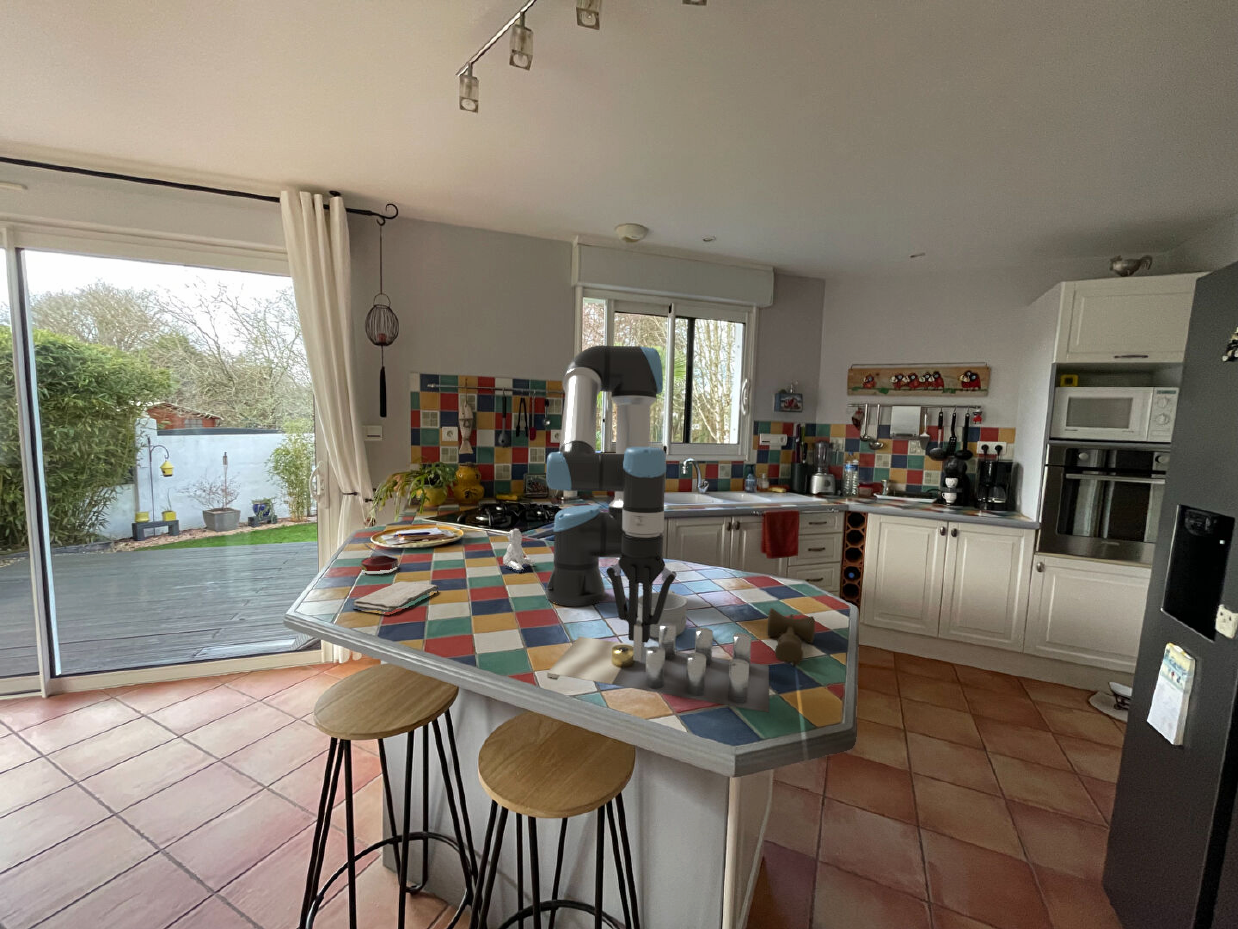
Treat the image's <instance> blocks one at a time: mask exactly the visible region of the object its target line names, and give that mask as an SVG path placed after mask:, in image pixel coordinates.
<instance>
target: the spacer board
mask: <svg viewBox="0 0 1238 929" xmlns="http://www.w3.org/2000/svg"><path fill="white" fill-rule="evenodd" d="M616 645H629V646H632V647H633V644H631V643H630V644H629V643H624V642H617V641H610V640H603V639H597V638H593V637H592V638H591V637H586V636H578V637H577V639H576V640H574V641H573V643H572V644H571V645H570V646H569V647H568V649H567V650H566V651H565V652H564V653H563V654H562V655H561V657H560V658H559V659H558V660H557V661H556V662H555V663H554V664H553V665H552V667H551V668H550V669H549V670H548V671H547V673H546V676H547V678H550V677H552V678H551V679H556V678H557V680H558V679H559V678H560V677H561V676H563V677H568V678H573V679H579V680H584V681H585V680H586V681H591V682H597V683H601V684H608V685H613V686H618V687H624V688H629V689H630V688H631V689H636V690H642V691H647V692H653V693H658V694H663V695H667V696H668V695H669V696H673V697H674V696H676V697H680V698H686V699H691V700H697V701H702V702H707V703H714V704H719V705H725V706H731V707H736V708H741V709H746V710H754V711H759V712H766V713H770V680H769V679H770V678H769V677H770V676H769V675H770V670H769V667H770V666H769V665H767V664H759V663H755V662H754V663H753V662H750V670H749V679H748V698H747V702H746V703H743V704H737V703H733V702H731V701H730V700H729V699H728V678H729V661H730V660H731V659H727V658H722V657H716V656H715V657H714V656H712V662H711V664H710V665H707V666H706V672H705V693H704V694H703V695H701V696H692V695H690V694H688V693H687V692H686V666H687V655H688V654H689V653H690V652H689V653H688V652H681V651H676V650H675V658H674V659H671V660H665V665H664V686H663V687H662V688H659V689H652V688H649V687H647V686H646V684H645V676H646V649H647V648H648V647H649V646H644V656H643V658H642V660H641V661H636V660H635V664H634V665H633V666H632V667H628V668H619V667H616V666H614V665H613V664H612V662H611V661H612V648H613V647H614V646H616Z"/></svg>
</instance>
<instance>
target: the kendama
mask: <svg viewBox="0 0 1238 929" xmlns="http://www.w3.org/2000/svg"><path fill="white" fill-rule="evenodd" d="M815 631H816V621H815V617H814V616H807V617H803V618H794V615H793V614H790V615H789V617H786V616H785V615H782V614H781V613H780V612H778V611H777V610H775V608H770V610H769V612H768V616H767V628H766V634H767V637H768V638H772V637H775V636H778V635H780V634H781V635H780V636H779V637H778V640H777V644H776V646H775V657H776V659H777V660H779V661H782V662H787V663H792V664H793V667H795V666H799V665H800V664H801V663H802V661H803V659H804V650H803V645H802V644H803V643H802V641H801V640H803V641H804V642H806V643H808V644H811V643H813V642H814V638H815V633H816V632H815Z"/></svg>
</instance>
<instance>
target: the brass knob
mask: <svg viewBox="0 0 1238 929" xmlns="http://www.w3.org/2000/svg"><path fill="white" fill-rule="evenodd" d="M611 662H612V664H613V665H614V666H616V667H619V668H628V667H632V666H633V665H634V664H635V660H633V647H632V646H629V645H616V646H614V647H613V648H612V661H611Z"/></svg>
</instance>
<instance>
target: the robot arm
mask: <svg viewBox="0 0 1238 929" xmlns="http://www.w3.org/2000/svg"><path fill="white" fill-rule="evenodd" d="M663 372H664V371H663V364H662V358H661V356H660V352H659V351H658V350H657V348H654V347H648V346H641V345H639V346H637V345H635V346H634V345H605V344H604V345H602V344H601V345H600V344H599V345H594V346H590V347H588V348H586V349H584V350H583V351H581V352H579V353H578V354H576V355H575V357H573V358H572V359H571V361H570V362H569V363H568V364H567V366H566V368H565V370H564V372H563V375H562V389H563V391H564V393H565V394H564V403H563V414H562V422H561V431H560V432H561V434H560V442H559V449H558V451H556V452H555V451H554V452H550V453H549V454H548V456H547V459H546V470H545V471H546V484H547V487H548V489H550V490H554V491H565V492H571V491H572V492H612V493H613V492H614V499H613V500H612V501H611V502H610V503H609V504H608V511H606V512H605V511H602V509H601V507H600V506H598V505H595V504H592V505H588V504H587V505H578V506H577V505H575V506H571V507H567V508H563V509H561V510H558V512H557V513H555V516H554V524H553V525H554V526H553V533H554V536H553V537H554V538H553V567H552V571H551V573H550V577H549V580H548V582H547V586H546V588H545V590H546V591H545V592H546V594H545V597H546V596H547V598H548V599H549V600H550V601H552V602H555V603H557V604H556V605H558V604H561V605H560V606H563V605H566V606H565V607H586V606H585V605H588V606H591V604H593V605H595V604H594V603H596V604H598V603H600V602H602V601H603V600H605V598H604V597H605V595H606V591H605V590H606V588H605V587H606V586H605V584H604V580H603V578H602V574H601V570H600V568H599V567H600V566H599V565H600V559H602V558H604V559H605V558H606V559H611V558H612V559H614V558H615V559H618V562H617V563H615V564H611V565H610V566H609V567H608V568H606V572H605V573H606V574H607V576H608V578H609V580H610V581H611V585H612V590H613V591H612V592H613V595H614V598H615V604H616V609H617V614H618V618H619V620H620V621H625V622H627V624H628V636H627V637H628V641H632V642H633V643H632V645H633V660H636V661H641V660H642V658H643V656H644V647H645V643H648V642H649V640H650V638H651V637H650V626H651V625H652V624H655V625H656V624H658V622H659V620H660V618H661V615H662V612H663V608H664V605H665V601H666V598H667V594H668V591H669V590H670V587H671V585H672V583H673V582H674V581H675V579H676V578H677V575H678V574H677V572H676V571H673V570H672V571H671V570H670V569H668V568H667V567H666V562H665V561H664V557H663V552H664V550H663V548H664V536H663V534H662V532H664V527H665V524H664V523H665V492H666V491H665V489H666V488H665V487H666V472H667V464H666V463H667V461H666V460H667V459H666V458H667V457H666V454H667V453H666V451H665V450H664V449H663V448H660V447H653V446H652V447H651V446H650V437H651V435H650V434H651V433H650V432H651V408H652V405H653V404H654V403H655V402H656V401H657V395H659V394H661V393H663V388H664V382H663V381H664V380H663V379H664V377H663ZM600 392H604V393H611V395H610V396H611V397H610V398H611V401H612V402H613V403H614V404H615V405H616V434H615V435H616V437H615V438H616V439H615V453H603V452H601V453H598V452H596V450H597V449H596V448H597V444H596V443H597V414H598V410H597V409H598V396H599V394H600ZM622 573H623V574H624V576H625V578H626V579H627V580H628V604H627V599H626V593H625V588H624V583H623V578H622V576H621V574H622ZM661 574H662V575H661ZM660 575H661V576H662V577H661V580H662V582H663V583H662V585H661V587H660V591H659V592H660V594H659V597H658V601H657V604H656V608H655V611H654V615H651V611H652V593H653V585H654V582H655V581H656V579H657V578H658V577H659V576H660ZM640 584H641V585H642V589H641V590H642V595H643V607H642V621H639V620H638V597H639V592H640V591H639V590H640V589H639V588H640ZM547 598H546V599H547ZM548 599H547V600H548ZM549 600H548V601H549ZM550 601H549V602H550ZM599 601H600V602H599ZM552 602H551V603H552ZM597 602H598V603H597ZM555 603H554V604H555Z"/></svg>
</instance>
